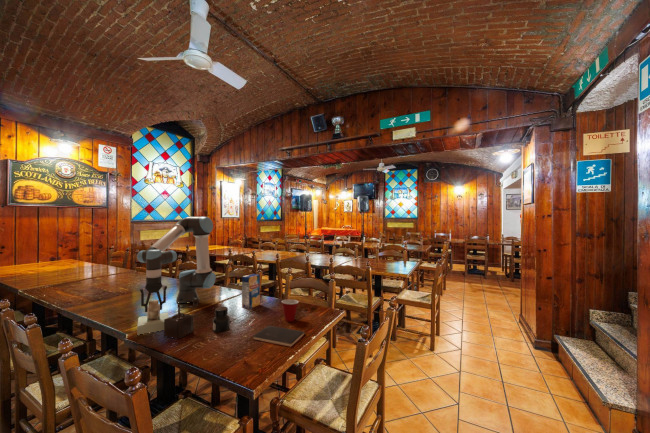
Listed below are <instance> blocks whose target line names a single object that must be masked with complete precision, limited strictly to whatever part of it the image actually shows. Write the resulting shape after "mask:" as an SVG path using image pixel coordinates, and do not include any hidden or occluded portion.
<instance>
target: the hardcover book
mask: <svg viewBox="0 0 650 433" xmlns="http://www.w3.org/2000/svg"><path fill="white" fill-rule="evenodd" d="M304 335H306V332H305V331H304V330H303V331H302V330H297V329H292V328H285V327H280V326H275V325H267V326H265V327H264V328H263V329H261V330H260V331H258V332H257V333H255V334H254V335H252V338H253V340H256V341H261V342H267V343H270V344H275V345H281V346H286V347H292V346H294V344H296V343H297V342H298V341H299V340H300V339H301V338H303V336H304Z"/></svg>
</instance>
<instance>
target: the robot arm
mask: <svg viewBox="0 0 650 433" xmlns="http://www.w3.org/2000/svg"><path fill="white" fill-rule="evenodd" d="M213 229H214V222H213V221H212V219H211V218H210V217H208V216H187V217H184V218H182V219H180V220H179V221H177V222H175V223H174V224H173V225H172V228H171V229H169V231H167V232H166V233H164V235H163V236H161V237H160V238H159V239H158V240H156V241H155V242H154V243H153V244H151V246H150V247H148V248H147V249H145V250H144V249H143V250H140V251H139V252H138V253H137V255H136V259H137V261H138V262H140V263H144V264H145V267H146V270H145V276H146V278H145V279H146V280H145V281H146V282H145V287H141V288H139V291H140V299H141V301H140V304H141V307H144V312H145V313H146V314H147V315H146V316H147V318H149V301H150V299H151V295H152V294H154V293H155V294H157V300H159V305H158V316H160V314H161V311H162V310H163V304H166V302H167V300H166V299H167V292H166V291H167V290H168V286H167V285H163V284H162V266H163V265H167V264H171V263H173V262H176V260H177V259H178V255H177V252H176V251H175V250H167V249H168V248H169V247H170V246H171V245H172V244H173V243H174V242H175V241H176V240H178V239H179V238H180V237H181V236H184V235H185V234H187V233H192V236H193V237H195V254H196V269H187V270H184V271H180V272H179V273H178V274H179V275H178V293H177V296H176V300H175V303H176V302H179V303H187V302H193V301H192V300H193V299H194V298H199V294H198V292H197V289H211V288H212V287H213V286H214V284H215V282H216V280H217V278H216V273H215V272H213V268H211V267H210V250H209V248H210V246H209V236H210V235H211V233H212V231H213ZM161 289H162V292H163V294H162V295H163V298H162V297H161V294H160V290H161ZM146 291H147V292H148V293H147V298H146V300H145V292H146Z"/></svg>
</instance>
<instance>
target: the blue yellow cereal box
mask: <svg viewBox="0 0 650 433" xmlns="http://www.w3.org/2000/svg"><path fill="white" fill-rule="evenodd" d="M241 281H242V282H241V308H243V309H249V310H250V309H253V308H254V307H257V306H260V305H261V303H260V302H261V301H260V299H261V296H260V295H261V292H260V291H261V287H260V286H261V283H260V282H261V274H256V273H252V274H251V273H250V274H248V275H243V276H242V278H241Z"/></svg>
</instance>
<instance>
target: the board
mask: <svg viewBox="0 0 650 433" xmlns="http://www.w3.org/2000/svg"><path fill="white" fill-rule="evenodd" d="M169 317H170V316H169V312H163V313H161V312H160V316H159V318H158V320H155V321H150V320H149V318H147V315H143V316H139V317H138V319H137V327H136V330H137V331H136V334H137V335H138V336H140V335H139V334H143V335H145V334H144V333H149V332H154V333H157V332H156V331H159V332H162V331H161V330H164V319H167V318H169ZM149 334H150V333H149ZM137 335H136V336H137Z"/></svg>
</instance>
